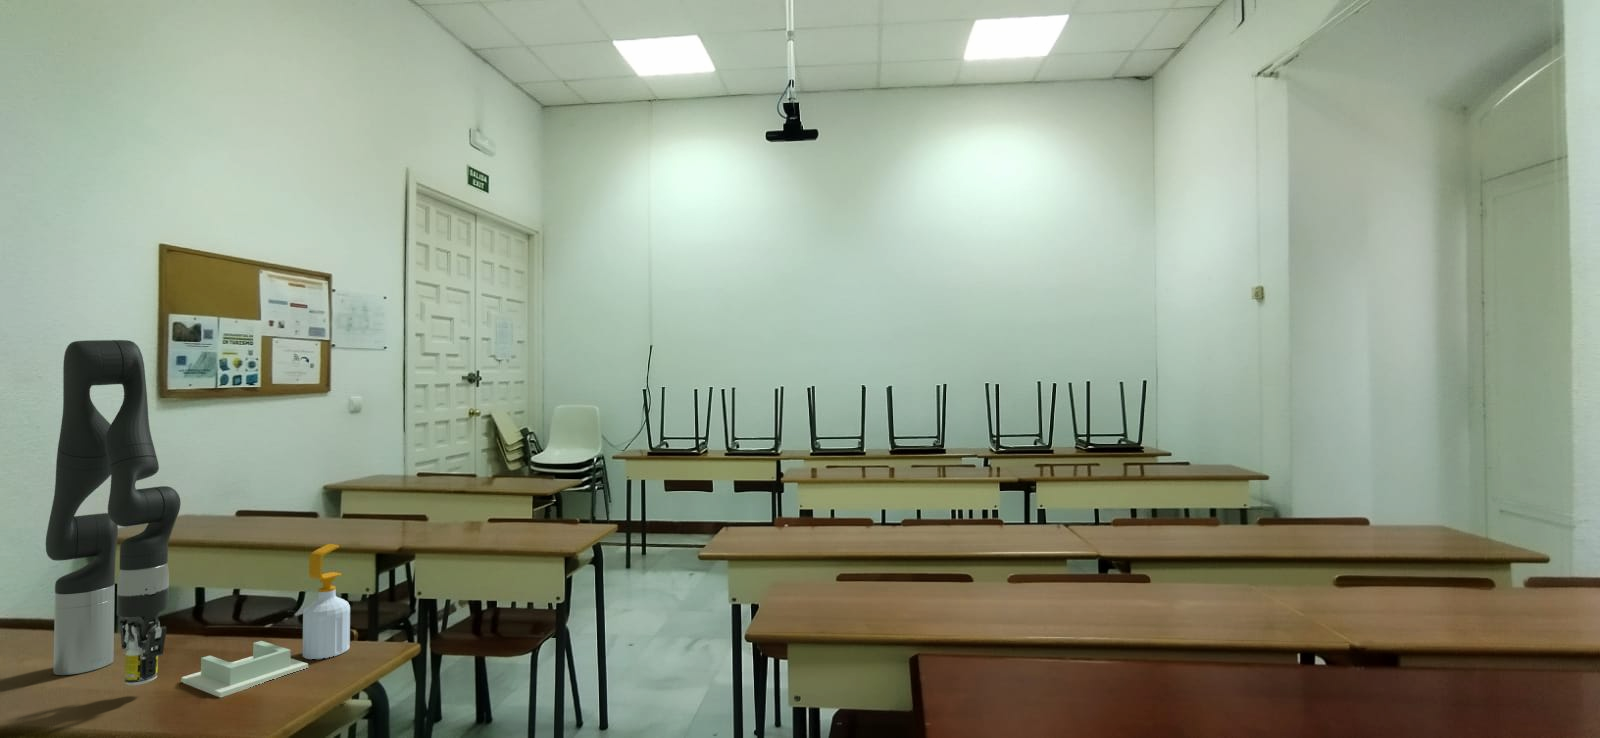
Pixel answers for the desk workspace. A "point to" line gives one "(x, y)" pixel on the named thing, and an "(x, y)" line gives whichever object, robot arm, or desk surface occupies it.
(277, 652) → the u rest
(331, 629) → the soap bottle
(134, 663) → the supplement bottle
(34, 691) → the desk surface
